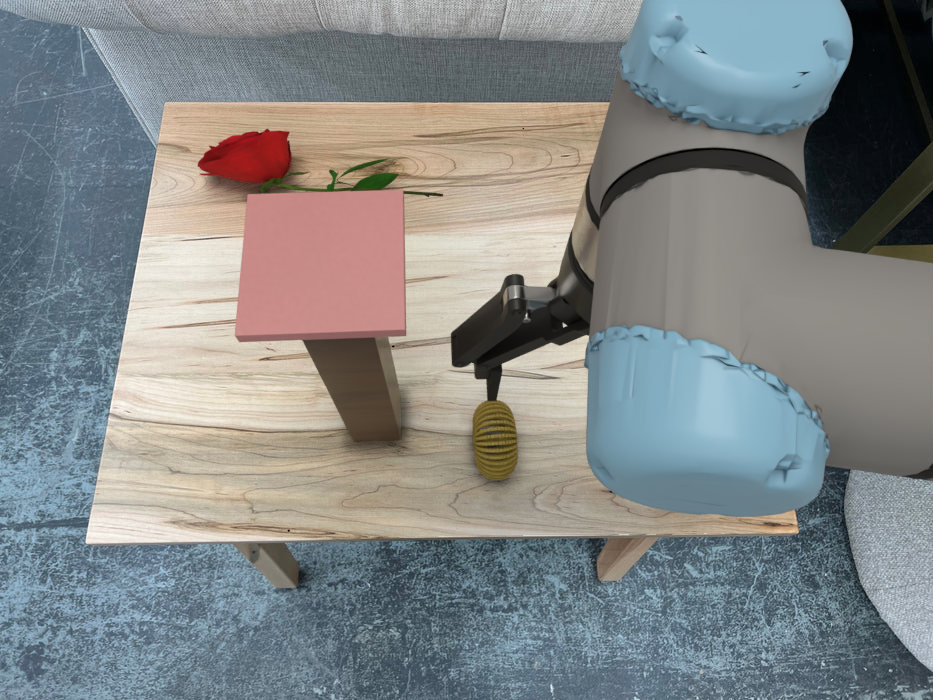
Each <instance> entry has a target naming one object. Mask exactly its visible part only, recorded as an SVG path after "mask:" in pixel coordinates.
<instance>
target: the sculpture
mask: <svg viewBox="0 0 933 700" xmlns="http://www.w3.org/2000/svg"><path fill="white" fill-rule="evenodd" d="M486 433H495V434H486ZM472 441H473V451H474V459H475V464H476V465H475V466H476V467H477V470H478V472H479V473H480V474H481V475H482V476H483V477H484V478H486V479H487V480H490V481H494V482H495V481H496V482H498V481H502V480H506V479H508V478H509V477H510V476H511V475H512V474H513V473H515V470H516V468H517V465H518V459H519V447H518V446H519V444H518V443H519V442H518V431H517V426H516V420H515V416H514V413H513V411H512V409H511V408H510V406H509V405H508V404H507V403H505V402H504V401H501V400H499V399H497V401H487V400H484V401H482V402H481V403H480V404H478V406H477V407H476V408H475V410H474V412H473V415H472ZM488 446H495V447H488Z"/></svg>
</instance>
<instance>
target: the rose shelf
mask: <svg viewBox="0 0 933 700" xmlns="http://www.w3.org/2000/svg"><path fill="white" fill-rule="evenodd" d="M403 191H404V189H386V190H385V189H382V190H375V191H351V190H350V191H338V192H315V191H307V192H306V191H304V192H276V193H275V192H274V193H270V192H269V193H265V194H261V193H247V196H246V207H245V219H244V228H243V239H242V251H241V260H240V261H241V262H240V273H239V284H238V295H237V305H236V314H235V315H236V317H235V328H234V337H235V339H236V340H237V341H238V343H256V342H257V343H258V342H259V343H261V342H285V341H302V340H316V339H344V338H371V337H388V338H394V337H396V338H397V337H398V338H399V337H407V296H406V295H407V294H406V293H407V292H406V230H405V229H406V228H405V226H406V223H405V194H404V192H403Z"/></svg>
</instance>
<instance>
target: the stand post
mask: <svg viewBox="0 0 933 700" xmlns="http://www.w3.org/2000/svg"><path fill="white" fill-rule="evenodd" d="M301 341H302V343H303V344H304V346H305V349H306V350H307V352H308V354H309V356H310V358H311V361H312V362H313V365H314V367H315V368H316V370H317V372H318V375H319V376H320V379H321V381H322V382H323V384H324V387H325V389H326V390H327V392H328V394H329V396H330V397H331V400H332V403H333V404H334V406H335V408H336V410H337V412H338V414H339V417H340V418H341V420H342V422H343V424H344V426H345V428H346V430H347V432H348V434H349V436H350V438H351V440H352V442H353V443H358V442H381V441H401V440H402V395H401V390H400V385H399V380H398V375H397V372H396V367H395V363H394V358H393V357H394V356H393V353H392V348H391V344H390V337H371V338H344V339H316V340H301Z"/></svg>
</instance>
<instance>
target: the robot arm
mask: <svg viewBox="0 0 933 700" xmlns="http://www.w3.org/2000/svg"><path fill="white" fill-rule="evenodd" d="M853 41H854V37H853V27H852V23H851V19H850V17H849V15H848V12H847V10H846V8H845V6H844V4H843V2H842V1H841V0H642V3H641V5H640V8H639V11H638V13H637V16H636V19H635V21H634V24H633V26H632V29H631V31H630V34H629V36H628V39H627V42H626V43H625V44H624V45H622V47H621V48H620V50H619V54H618V64H619V68H618V70H617V71H618V72H617V76H616V79H615V82H614V87H613V89H612V93H611V96H610V101H609V103H608V107H607V111H606V115H605V118H604V122H603V125H602V129H601V132H600V137H599V140H598V144H597V147H596V151H595V154H594V158H593V161H592V164H591V167H590V170H589V173H588V175H587V176H586V177H587V178H586V181H585V185H584V188H583V191H582V194H581V197H580V201H579V204H578V208H577V211H576V214H575V219H574V222H573V225H572V228H571V230H570V232H569V236H568V238H567V243H566V246H565V250H564V253H563V256H562V260H561V263H560V266H559V271H558V274H557V276H556V277H555V278H554V279H552V280H551V281H549V283H548V284H547V286H531V285H530V286H528V285H526V284H525V277H524V276H523V275H522V274H520V273H511V274H508V275H507V276H505V277H504V280H503V282H502V285H501V287H500V289H499V291H498V292H497V293H496V294H495V295H493V296H492V297H491V298H490V299H489V300H488V301H486V302H485V303H484V304H483V305H482V306H481V307H479V309H477V310H476V311H475V312H474V313H473V314H471V315H470V316H469V317H468V318H467V319H465V320H464V321H463V322H462V323H461V324H459V325H458V326H457V327H456V328H455V329H454V330H452V331H451V333H450V351H451V352H450V354H451V355H450V357H451V358H450V359H451V366H452V367H453V368H458V369H459V368H460V369H461V368H462V369H463V368H466V367H468V366H469V365H470V364H473V374H474V375H473V376H474V378H475V380H477V381H478V380H485V382H486V383H485V384H486V401H497V400H498V396H499V391H500V385H501V380H502V375H503V365H504V364H506V363H507V362H510V361H512V360H515V359H517V358H519V357H521V356H522V357H523V356H524V355H526V354H528V353H531V352H533V351H535V350H538V349H540V348H542V347H545V346H547V345H549V344H553V345H557V346H559V347H560V346H564V345H566V344H569V343H571V342H573V341H575V340H578V339H580V338H583V337H585V336H588V341H587V344H586V347H585V355H584V362H583V367H584V368H585V369H587V394H586V395H587V397H586V398H587V399H586V400H587V401H586V405H587V406H586V434H585V435H586V438H585V439H586V440H585V454H586V460H587V463H588V466H589V468H590V470H591V473H592V474H593V476H594V477H595V478H596V479H597V480H598V481H599V482H600V483H601V484H602V485H603V487H605V488H606V489H607V490H609V491H610V492H612V493H613V494H615V495H616V496H618V497H620V498H622V499H625V500H627V501H629V502H632V503H635V504H638V505H641V506H644V507H648V508H652V509H656V510H660V511H661V510H662V511H666V512H672V513H677V514H678V513H679V514H685V515H686V514H687V515H692V516H693V515H696V516H703V515H718V516H724V517H731V518H755V517H756V518H757V517H767V516H774V515H775V516H777V515H782V514H785V513H789V512H792V511H795V510H799V509H801V508H804V507H805V506H807V505H809V504H810V503H811V502H813V501H814V500H815V499H816V498H817V496H818V494H819V493H820V491H821V489H822V487H823V483H824V479H825V471H826V470H825V468H826V467H833V468H839V469H846V470H851V471H859V472H865V473H873V474H881V475H886V476H892V477H898V478H899V477H902V478H909V479H911V480H921V481H922V480H923V481H927V482H932V483H933V262H926V261H919V260H914V259H913V260H912V259H907V258H898V257H892V256H885V255H877V254H870V253H862V252H856V251H848V250H843V249H841V250H840V249H833V248H832V249H831V248H824V247H820V246H817V245H813V240H812V236H811V231H810V226H809V220H810V219H809V209H808V206H809V205H808V194H807V186H806V169H805V168H806V167H805V155H804V148H805V141H806V137H807V133H808V131H809V129H810V126H811V125H812V124H813V123H814V122H815V121H816V120H818V119H819V118H821V117H822V116H823V115H825V113H826V112H827V111H828V109H829V107H830V105H829V104H830V102H831V101H832V95H833V93H834V91H835V90H836V88H837V86H838V84H839V82H840V80H841V79H842V76H843V74H844V72H845V71H846V69H847V67H848V65H849V62H850V59H851V55H852V51H853V45H854V42H853ZM564 325H565V326H564Z"/></svg>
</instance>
